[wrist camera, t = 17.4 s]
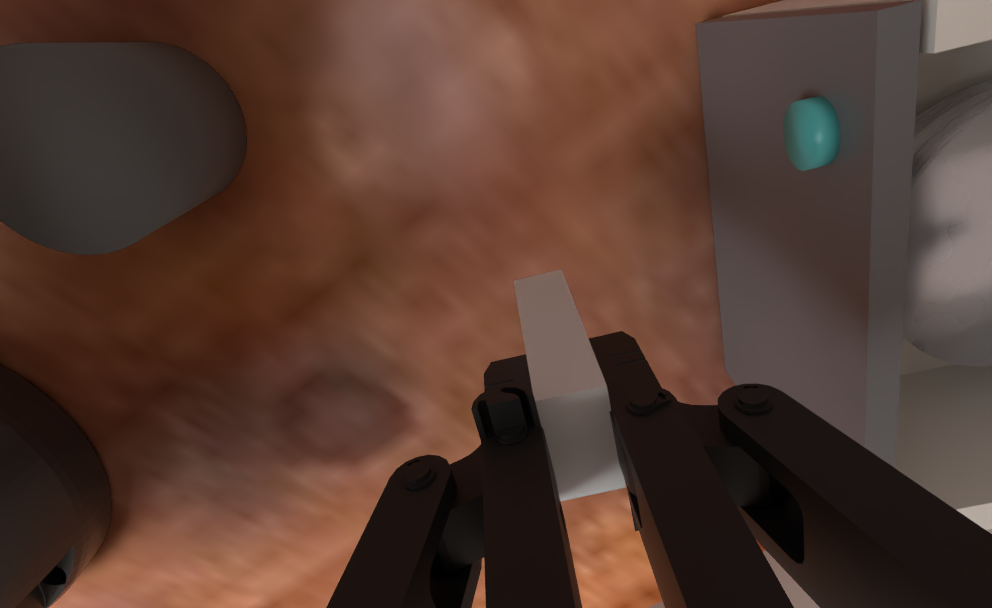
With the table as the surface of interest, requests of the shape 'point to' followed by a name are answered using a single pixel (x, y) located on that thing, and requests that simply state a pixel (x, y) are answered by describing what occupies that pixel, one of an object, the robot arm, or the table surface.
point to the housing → (923, 379)
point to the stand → (110, 140)
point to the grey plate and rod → (814, 203)
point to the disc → (952, 230)
